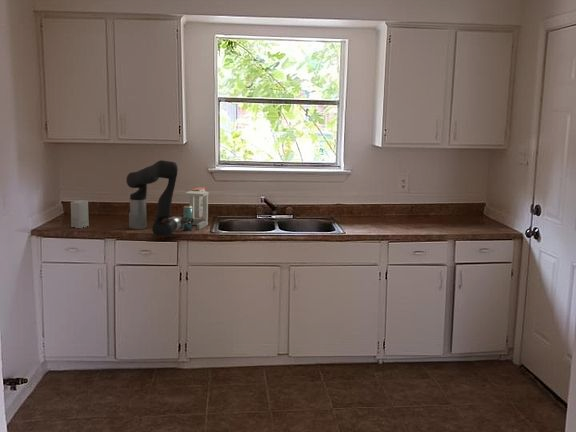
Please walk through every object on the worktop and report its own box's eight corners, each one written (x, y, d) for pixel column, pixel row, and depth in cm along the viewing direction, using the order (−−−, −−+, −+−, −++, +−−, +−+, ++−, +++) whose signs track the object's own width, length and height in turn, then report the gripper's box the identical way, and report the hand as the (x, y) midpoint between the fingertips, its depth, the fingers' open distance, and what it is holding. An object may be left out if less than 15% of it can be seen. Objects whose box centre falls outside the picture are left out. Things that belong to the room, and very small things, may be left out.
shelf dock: (200, 229, 348) (200, 195, 345) (180, 228, 350) (180, 194, 347) (208, 224, 364) (208, 191, 360) (190, 223, 366) (190, 190, 362)
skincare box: (80, 225, 348) (80, 199, 346) (89, 226, 346) (88, 200, 343) (70, 227, 341) (69, 201, 338) (79, 229, 338) (78, 202, 336)
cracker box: (199, 222, 370) (199, 189, 366) (190, 221, 371) (190, 189, 368) (206, 218, 384) (207, 187, 380) (198, 218, 385) (198, 186, 381)
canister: (188, 231, 342) (188, 207, 339) (181, 230, 344) (181, 206, 342) (194, 230, 346) (194, 206, 344) (187, 228, 349) (187, 205, 346)
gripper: (186, 217, 321) (196, 212, 336) (162, 215, 323) (172, 211, 339) (186, 230, 322) (196, 225, 338) (162, 229, 325) (172, 223, 340)
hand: (184, 218), depth 338 cm, fingers open, 8 cm apart
